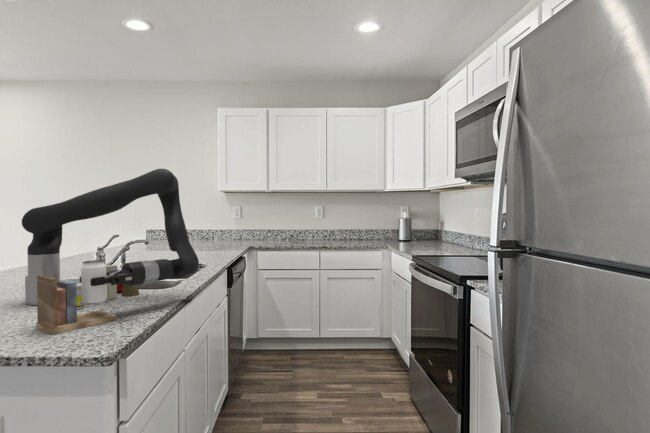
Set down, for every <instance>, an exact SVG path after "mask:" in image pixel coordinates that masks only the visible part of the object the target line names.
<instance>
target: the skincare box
mask: <svg viewBox="0 0 650 433" xmlns="http://www.w3.org/2000/svg"><path fill="white" fill-rule="evenodd" d="M105 265H106V271H107V270H114V269H118V265H115V264H106V263H105ZM117 297H118V295H117V284H116V285H111V284H109V285H107V300H106V301H109V300H113V299H117Z"/></svg>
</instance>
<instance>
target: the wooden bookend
mask: <svg viewBox="0 0 650 433" xmlns="http://www.w3.org/2000/svg"><path fill="white" fill-rule="evenodd" d="M36 307H37V308H36V310H37V322H35V329H37V330H39V331H41V332H44V333H46V334H47V335H50V336H53V335H56V334H60V333H65V332H69V331H73V330H78V329H82V328H87V327H92V326H98V325H100V324H101V325H102V324H105V323H110V322H114V321H117V314H114V313H111V312H109V311H104V310H102V309H98V310H94V311H89V312H88V311H87V312H83V313H78V312H77V311H78V309H77V283H75V282H72V281H68V280H67V279H64V280H60V281H57V279H55V278H51V277H48V276H44V275H38V276H37V305H36Z"/></svg>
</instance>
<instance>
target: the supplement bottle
mask: <svg viewBox="0 0 650 433" xmlns="http://www.w3.org/2000/svg"><path fill="white" fill-rule="evenodd" d="M66 280H68V281H72V282H75V283H77V310H80V309H83V308H84V307H85V304H84V303H83V302H82V287H81V283H80V276H71V277H66Z"/></svg>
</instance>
